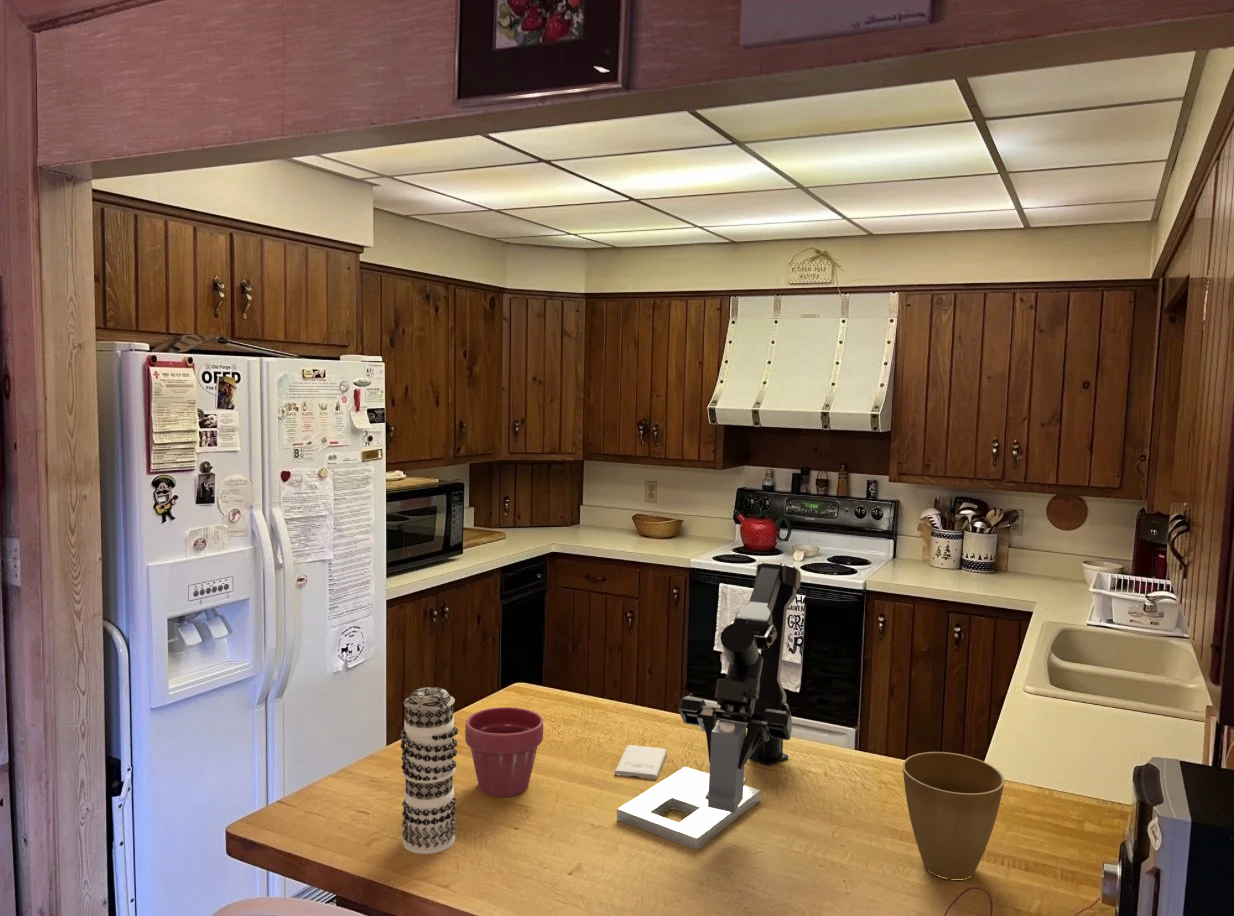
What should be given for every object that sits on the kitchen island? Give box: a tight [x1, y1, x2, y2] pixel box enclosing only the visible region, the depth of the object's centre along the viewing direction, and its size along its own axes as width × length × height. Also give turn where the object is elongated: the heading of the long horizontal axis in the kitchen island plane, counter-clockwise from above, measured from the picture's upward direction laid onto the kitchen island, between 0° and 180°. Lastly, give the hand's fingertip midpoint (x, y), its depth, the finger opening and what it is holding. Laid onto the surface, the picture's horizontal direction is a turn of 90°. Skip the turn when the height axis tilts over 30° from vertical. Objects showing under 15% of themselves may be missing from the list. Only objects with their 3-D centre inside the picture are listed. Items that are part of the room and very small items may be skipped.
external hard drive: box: [614, 744, 668, 780], centre depth 180 cm, size 2×8×12 cm
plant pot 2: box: [902, 751, 1005, 879], centre depth 143 cm, size 15×15×16 cm
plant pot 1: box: [464, 706, 544, 798], centre depth 168 cm, size 14×14×13 cm
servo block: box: [705, 720, 747, 813], centre depth 152 cm, size 9×4×14 cm, turn 158°
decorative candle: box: [399, 686, 459, 855], centre depth 148 cm, size 9×9×25 cm
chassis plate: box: [616, 766, 761, 851], centre depth 161 cm, size 22×16×2 cm
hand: (725, 765), depth 150 cm, fingers closed on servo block, 5 cm apart
